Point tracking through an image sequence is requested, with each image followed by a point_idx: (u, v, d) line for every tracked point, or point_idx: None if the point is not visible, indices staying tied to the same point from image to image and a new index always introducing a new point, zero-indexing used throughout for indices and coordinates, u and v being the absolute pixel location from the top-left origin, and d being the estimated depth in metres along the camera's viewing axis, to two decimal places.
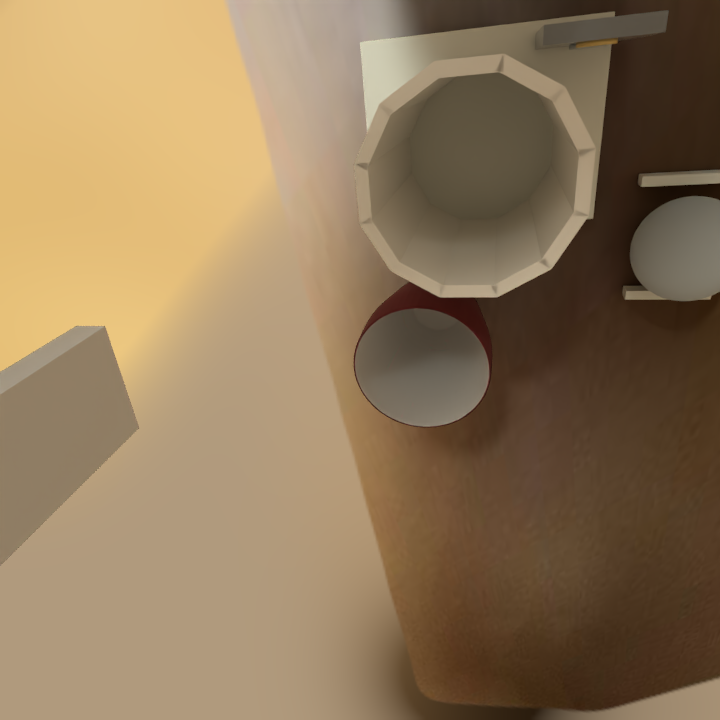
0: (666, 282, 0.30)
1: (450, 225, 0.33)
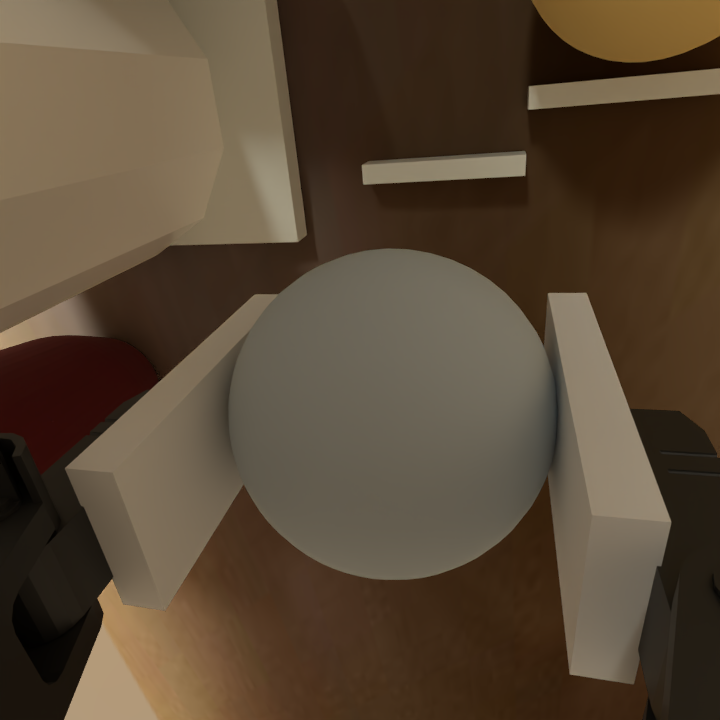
0: (285, 538, 0.09)
1: None
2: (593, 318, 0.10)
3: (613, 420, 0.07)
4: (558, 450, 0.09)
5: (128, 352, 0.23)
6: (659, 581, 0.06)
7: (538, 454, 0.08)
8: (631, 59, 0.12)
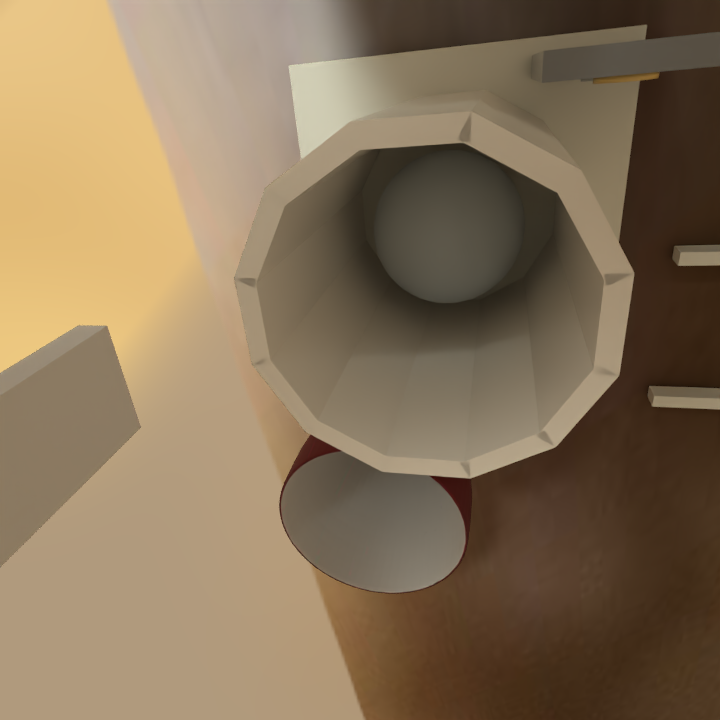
0: (403, 275, 0.21)
1: (415, 314, 0.24)
2: None
3: None
4: None
5: None
6: None
7: (513, 228, 0.20)
8: None
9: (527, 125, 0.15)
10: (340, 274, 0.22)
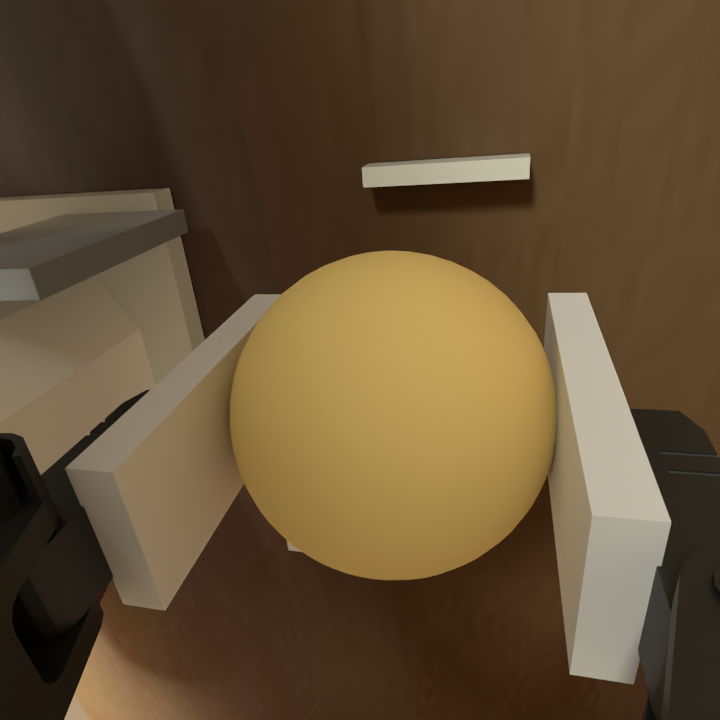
0: None
1: None
2: (593, 318, 0.10)
3: (613, 420, 0.07)
4: (558, 450, 0.09)
5: None
6: (660, 582, 0.06)
7: None
8: None
9: None
10: None
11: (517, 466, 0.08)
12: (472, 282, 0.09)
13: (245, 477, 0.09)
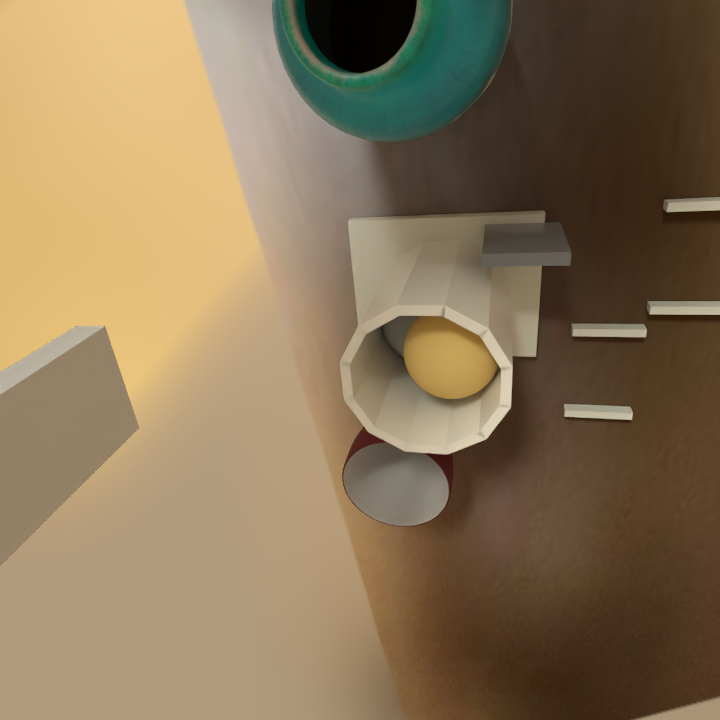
0: (389, 344, 0.39)
1: None
2: None
3: None
4: None
5: None
6: None
7: None
8: None
9: (474, 288, 0.32)
10: (378, 344, 0.39)
11: None
12: None
13: (436, 371, 0.31)
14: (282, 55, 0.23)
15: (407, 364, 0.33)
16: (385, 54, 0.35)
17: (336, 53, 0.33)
